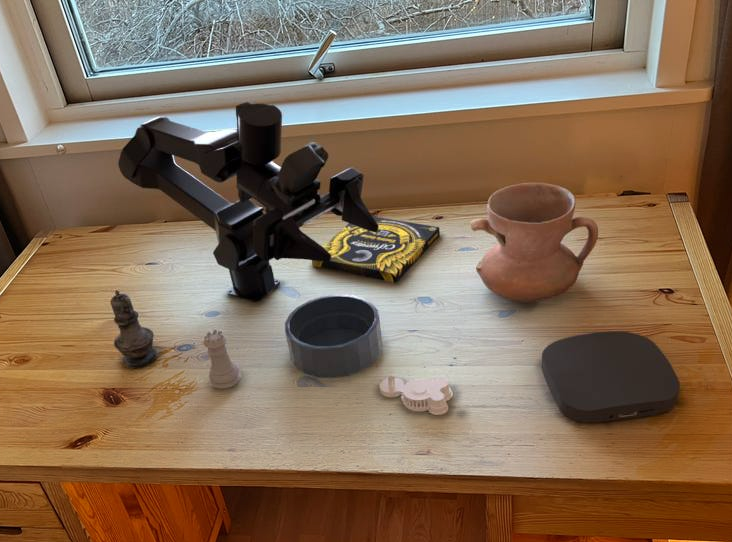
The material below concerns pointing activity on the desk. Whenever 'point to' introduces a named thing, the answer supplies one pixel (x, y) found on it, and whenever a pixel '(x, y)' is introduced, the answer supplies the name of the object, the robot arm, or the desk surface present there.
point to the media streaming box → (609, 376)
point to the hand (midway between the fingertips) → (354, 243)
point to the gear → (419, 393)
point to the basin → (334, 336)
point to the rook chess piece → (220, 361)
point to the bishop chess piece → (132, 334)
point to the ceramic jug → (532, 242)
